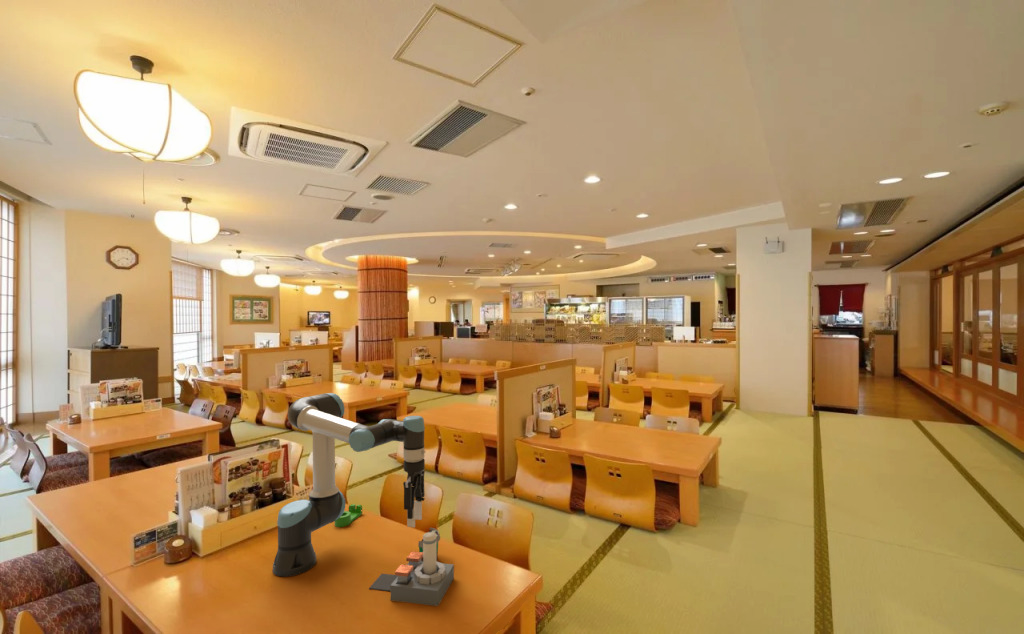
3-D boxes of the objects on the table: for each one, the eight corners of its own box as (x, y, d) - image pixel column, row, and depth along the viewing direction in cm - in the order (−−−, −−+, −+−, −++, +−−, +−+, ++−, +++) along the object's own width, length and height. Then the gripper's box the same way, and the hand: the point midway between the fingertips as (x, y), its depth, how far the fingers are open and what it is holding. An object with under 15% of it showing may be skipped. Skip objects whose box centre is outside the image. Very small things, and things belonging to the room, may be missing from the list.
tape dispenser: (344, 528, 201) (344, 518, 201) (331, 527, 202) (331, 517, 203) (362, 514, 216) (362, 505, 216) (349, 513, 217) (349, 504, 217)
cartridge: (421, 578, 151) (420, 537, 151) (426, 570, 156) (426, 531, 156) (433, 579, 150) (433, 539, 150) (438, 572, 155) (438, 532, 155)
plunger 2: (406, 576, 157) (406, 557, 157) (412, 569, 162) (411, 551, 162) (418, 577, 156) (418, 558, 156) (423, 570, 161) (423, 552, 161)
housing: (390, 600, 147) (390, 579, 147) (410, 573, 163) (410, 554, 163) (438, 606, 144) (437, 584, 144) (453, 578, 160) (453, 559, 160)
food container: (433, 569, 165) (433, 543, 166) (418, 568, 167) (418, 541, 167) (444, 552, 178) (444, 528, 178) (430, 551, 179) (430, 527, 179)
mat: (369, 589, 154) (369, 587, 154) (381, 574, 163) (381, 573, 163) (392, 591, 152) (392, 590, 152) (404, 577, 161) (404, 575, 161)
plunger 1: (395, 591, 148) (395, 571, 148) (401, 583, 153) (401, 564, 153) (407, 593, 147) (407, 573, 147) (413, 585, 152) (413, 565, 152)
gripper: (413, 467, 150) (413, 535, 149) (433, 452, 168) (433, 512, 168) (393, 466, 151) (393, 533, 151) (415, 451, 169) (415, 511, 169)
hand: (414, 522), depth 159 cm, fingers open, 5 cm apart
